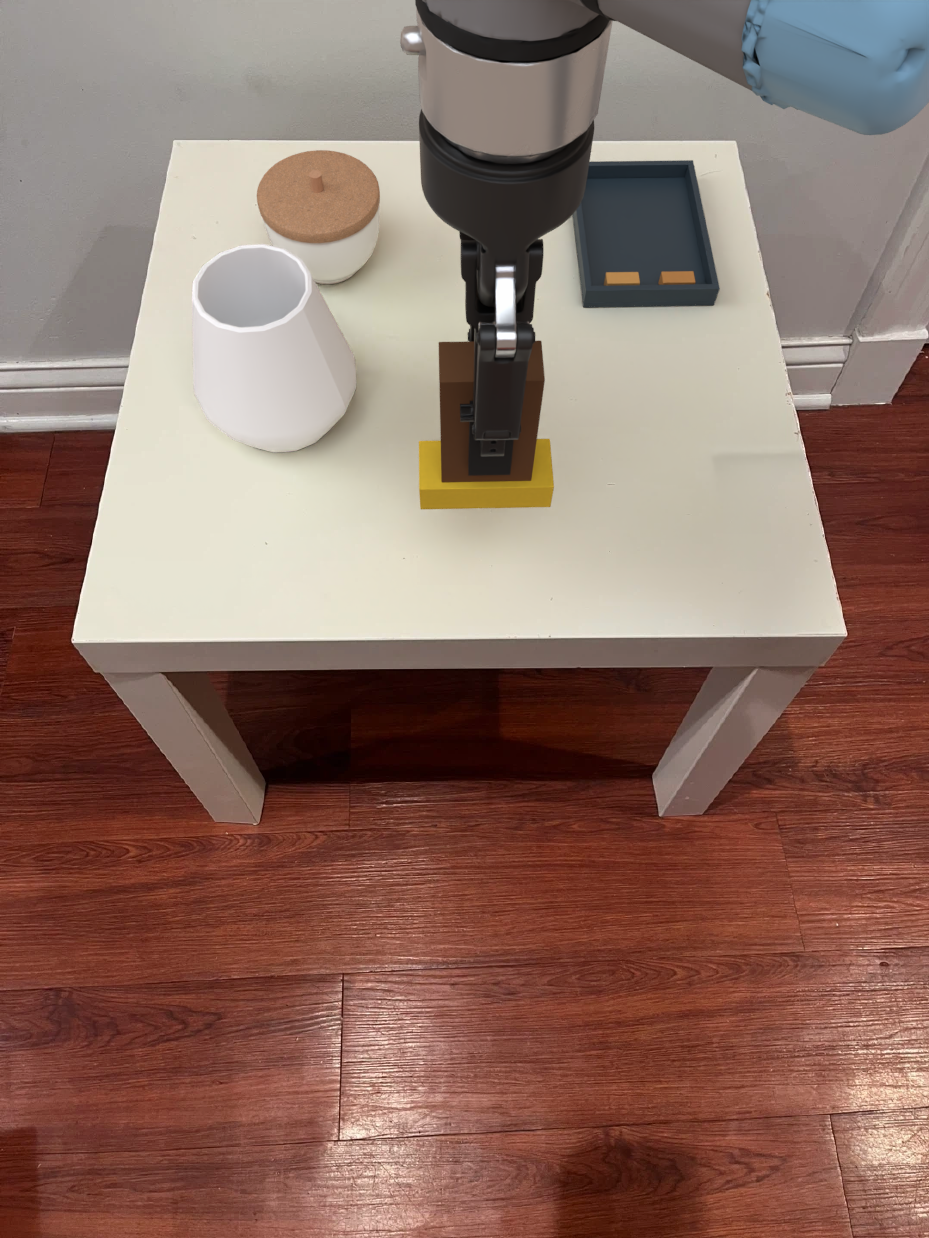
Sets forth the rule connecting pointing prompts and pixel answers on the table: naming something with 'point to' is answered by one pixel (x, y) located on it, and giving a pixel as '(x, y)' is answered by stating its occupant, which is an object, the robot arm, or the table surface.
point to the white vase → (267, 350)
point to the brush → (449, 456)
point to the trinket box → (322, 211)
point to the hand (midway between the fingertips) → (488, 446)
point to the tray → (643, 234)
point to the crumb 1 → (621, 278)
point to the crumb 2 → (677, 278)
